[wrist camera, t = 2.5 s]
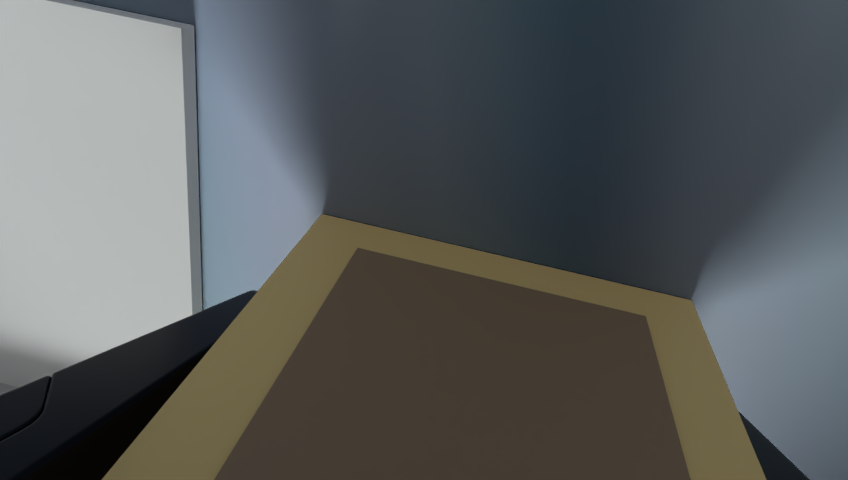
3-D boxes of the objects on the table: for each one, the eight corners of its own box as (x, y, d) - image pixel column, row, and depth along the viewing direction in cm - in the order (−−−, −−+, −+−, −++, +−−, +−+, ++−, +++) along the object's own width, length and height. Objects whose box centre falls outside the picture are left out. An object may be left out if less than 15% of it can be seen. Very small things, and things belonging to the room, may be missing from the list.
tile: (693, 298, 10) (907, 805, 4) (653, 383, 11) (780, 894, 5) (322, 211, 11) (40, 547, 5) (314, 299, 12) (74, 669, 6)
